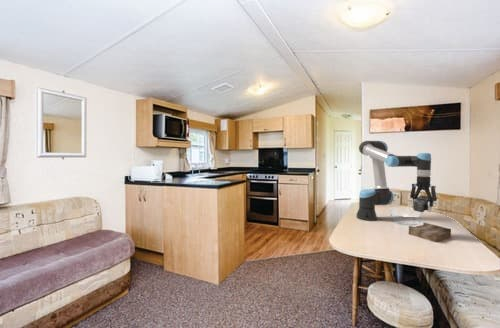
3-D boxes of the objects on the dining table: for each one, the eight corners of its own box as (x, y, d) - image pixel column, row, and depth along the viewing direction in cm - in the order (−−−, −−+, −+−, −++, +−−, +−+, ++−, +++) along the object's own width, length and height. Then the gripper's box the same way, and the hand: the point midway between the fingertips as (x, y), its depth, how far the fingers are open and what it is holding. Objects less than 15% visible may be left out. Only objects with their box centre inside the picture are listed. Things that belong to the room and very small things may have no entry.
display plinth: (408, 234, 165) (408, 225, 165) (423, 230, 174) (424, 222, 173) (435, 242, 151) (435, 233, 151) (450, 237, 159) (451, 229, 159)
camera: (430, 213, 157) (431, 197, 157) (412, 211, 163) (412, 196, 163) (432, 209, 167) (432, 195, 167) (414, 207, 174) (415, 193, 173)
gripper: (404, 175, 172) (403, 207, 173) (437, 177, 153) (436, 214, 154) (410, 174, 175) (410, 206, 176) (444, 177, 157) (443, 212, 158)
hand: (422, 210), depth 165 cm, fingers closed on camera, 8 cm apart
